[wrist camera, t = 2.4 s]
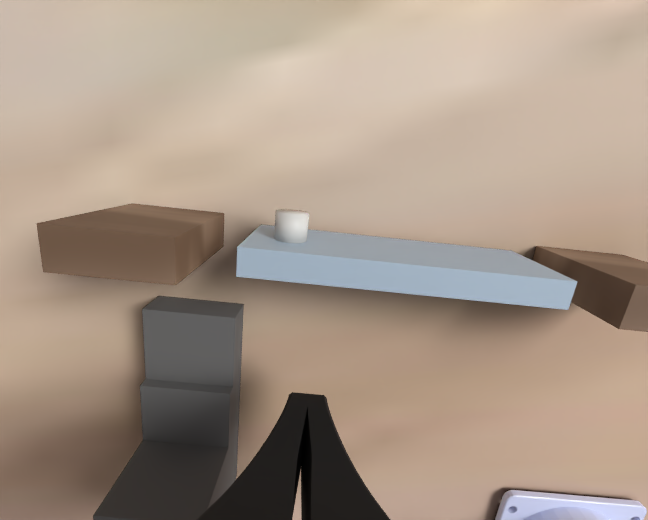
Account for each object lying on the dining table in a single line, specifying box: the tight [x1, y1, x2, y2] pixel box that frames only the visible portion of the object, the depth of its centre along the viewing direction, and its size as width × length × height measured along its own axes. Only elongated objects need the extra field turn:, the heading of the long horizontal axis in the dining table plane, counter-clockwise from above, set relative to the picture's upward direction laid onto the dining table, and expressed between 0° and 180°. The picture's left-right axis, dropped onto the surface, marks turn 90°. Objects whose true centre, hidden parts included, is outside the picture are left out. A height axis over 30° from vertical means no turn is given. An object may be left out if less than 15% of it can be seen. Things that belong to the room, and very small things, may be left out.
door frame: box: [37, 204, 648, 332], centre depth 13 cm, size 2×22×5 cm, turn 84°
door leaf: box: [236, 209, 577, 310], centre depth 13 cm, size 2×11×4 cm, turn 84°
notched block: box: [93, 296, 244, 520], centre depth 15 cm, size 10×4×6 cm, turn 174°
